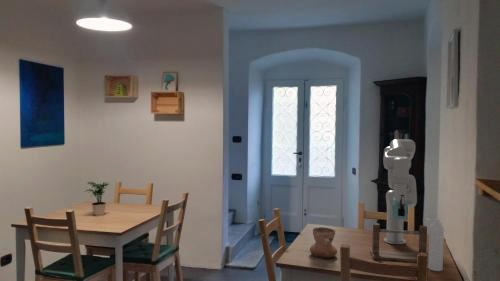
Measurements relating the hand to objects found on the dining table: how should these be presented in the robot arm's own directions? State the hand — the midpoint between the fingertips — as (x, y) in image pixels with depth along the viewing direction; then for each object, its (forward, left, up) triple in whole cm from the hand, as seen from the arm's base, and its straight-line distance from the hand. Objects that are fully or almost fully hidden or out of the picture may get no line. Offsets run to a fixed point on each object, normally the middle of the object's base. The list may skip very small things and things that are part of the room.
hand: (399, 214), depth 214 cm
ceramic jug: (+4, -40, -24) cm, 47 cm away
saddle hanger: (0, 0, -2) cm, 2 cm away
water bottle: (+15, +13, -24) cm, 31 cm away
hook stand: (0, 0, -23) cm, 23 cm away
